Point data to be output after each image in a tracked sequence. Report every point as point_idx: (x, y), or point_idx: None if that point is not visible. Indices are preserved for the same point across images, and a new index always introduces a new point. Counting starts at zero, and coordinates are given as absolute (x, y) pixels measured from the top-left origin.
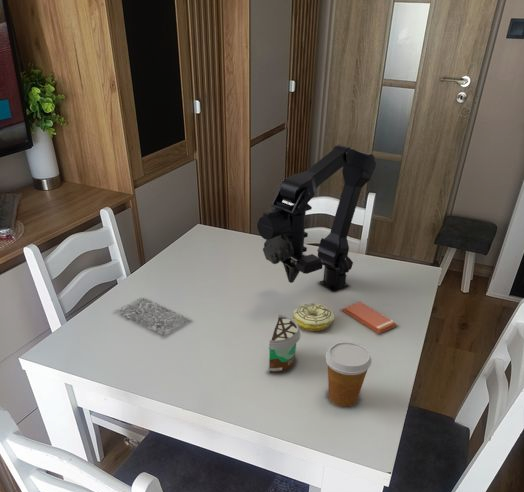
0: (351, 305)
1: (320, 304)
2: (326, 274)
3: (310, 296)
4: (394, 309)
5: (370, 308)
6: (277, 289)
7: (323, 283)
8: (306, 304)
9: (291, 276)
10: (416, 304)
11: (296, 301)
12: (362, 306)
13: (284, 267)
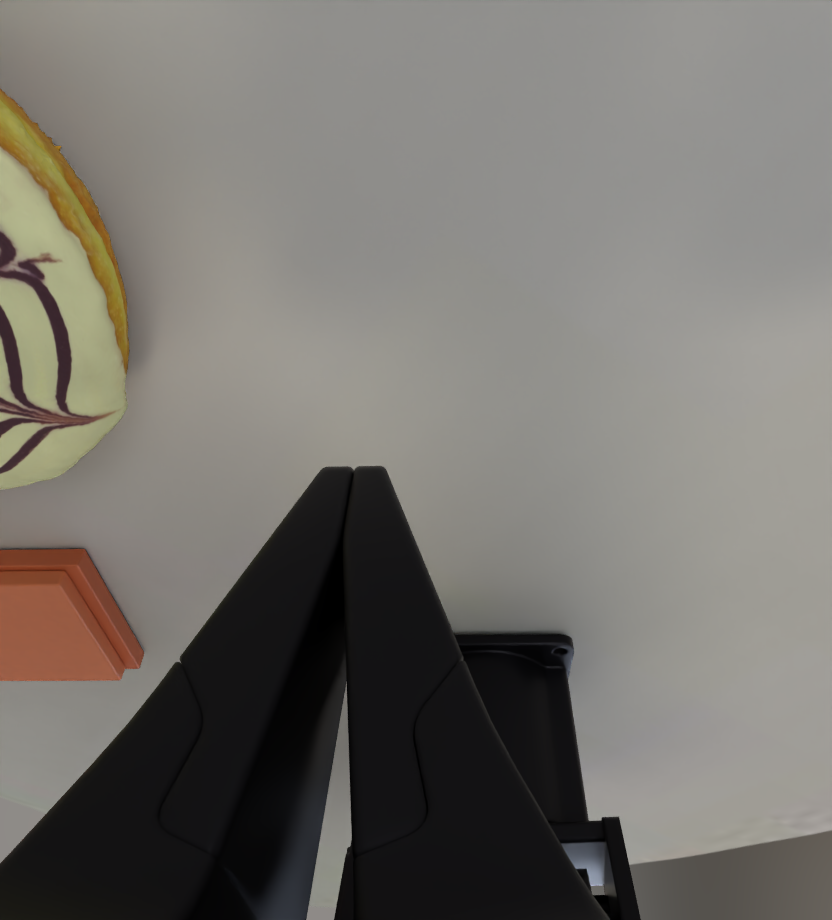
0: (79, 626)
1: (21, 473)
2: (510, 746)
3: (439, 494)
4: (24, 728)
5: (2, 676)
6: (811, 326)
7: (529, 651)
8: (59, 354)
9: (223, 605)
10: (53, 793)
11: (436, 347)
12: (43, 661)
13: (495, 753)
